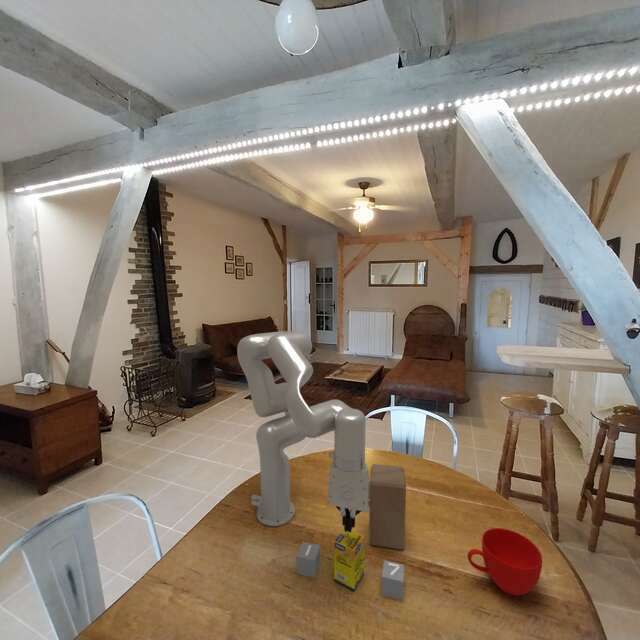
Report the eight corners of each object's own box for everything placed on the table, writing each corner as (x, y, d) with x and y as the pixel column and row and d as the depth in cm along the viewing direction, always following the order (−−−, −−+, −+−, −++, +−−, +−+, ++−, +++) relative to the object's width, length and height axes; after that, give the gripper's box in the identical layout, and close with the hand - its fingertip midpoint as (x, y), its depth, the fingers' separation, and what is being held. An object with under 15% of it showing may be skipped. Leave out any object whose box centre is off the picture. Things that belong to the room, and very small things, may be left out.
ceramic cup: (457, 561, 89) (458, 527, 88) (520, 562, 89) (522, 528, 88) (478, 607, 76) (480, 568, 75) (552, 609, 76) (555, 570, 75)
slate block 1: (296, 573, 86) (296, 555, 85) (302, 558, 90) (302, 541, 90) (314, 578, 84) (314, 559, 84) (320, 562, 89) (320, 544, 89)
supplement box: (354, 592, 80) (354, 551, 79) (333, 581, 83) (333, 541, 82) (364, 574, 85) (365, 535, 84) (344, 564, 88) (344, 526, 87)
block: (404, 551, 92) (406, 485, 90) (368, 546, 94) (369, 481, 92) (403, 526, 102) (404, 465, 100) (370, 522, 104) (371, 462, 102)
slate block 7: (381, 595, 80) (381, 575, 79) (383, 577, 84) (383, 559, 84) (402, 601, 78) (403, 581, 78) (403, 582, 83) (404, 564, 82)
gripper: (316, 463, 80) (316, 532, 82) (378, 473, 75) (376, 546, 77) (324, 448, 87) (324, 512, 89) (381, 456, 82) (380, 524, 85)
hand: (348, 528), depth 83 cm, fingers closed
